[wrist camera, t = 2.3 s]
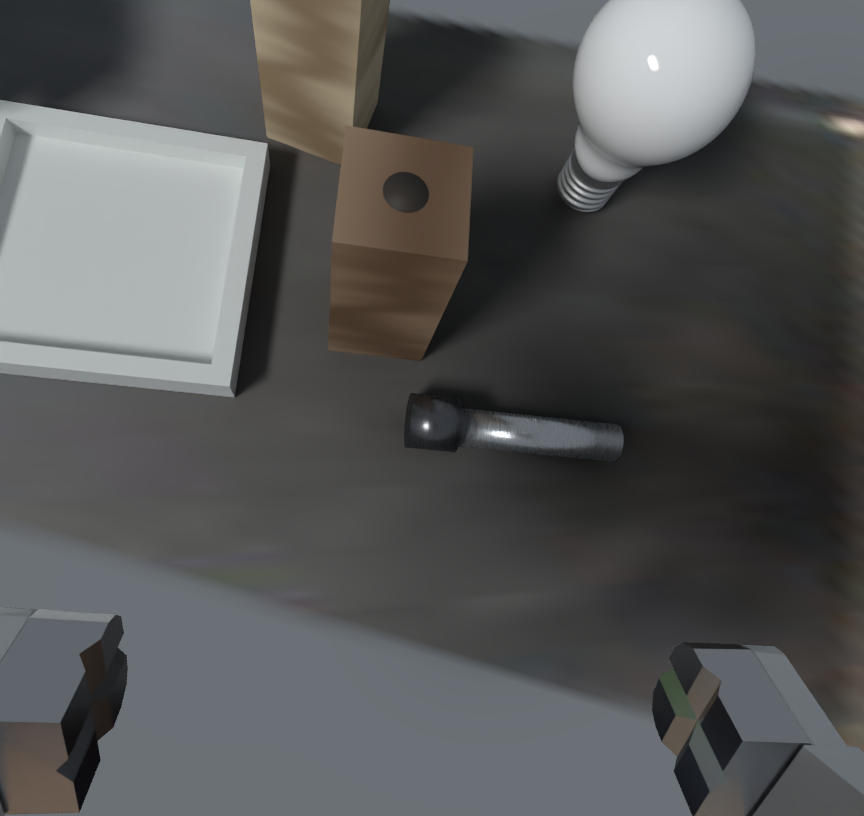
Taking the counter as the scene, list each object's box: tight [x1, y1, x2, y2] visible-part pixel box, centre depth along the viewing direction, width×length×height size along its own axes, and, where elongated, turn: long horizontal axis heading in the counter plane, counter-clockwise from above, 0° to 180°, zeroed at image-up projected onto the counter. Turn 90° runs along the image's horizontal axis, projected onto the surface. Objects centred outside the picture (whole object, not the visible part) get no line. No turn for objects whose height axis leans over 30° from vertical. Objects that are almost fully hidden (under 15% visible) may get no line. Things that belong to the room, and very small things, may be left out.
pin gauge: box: [404, 393, 624, 462], centre depth 26 cm, size 9×2×2 cm, turn 86°
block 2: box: [328, 125, 473, 361], centre depth 23 cm, size 4×4×9 cm
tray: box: [0, 100, 270, 397], centre depth 25 cm, size 11×11×2 cm
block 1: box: [250, 0, 390, 165], centre depth 25 cm, size 4×4×9 cm
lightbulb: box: [557, 0, 756, 212], centre depth 25 cm, size 6×6×11 cm
